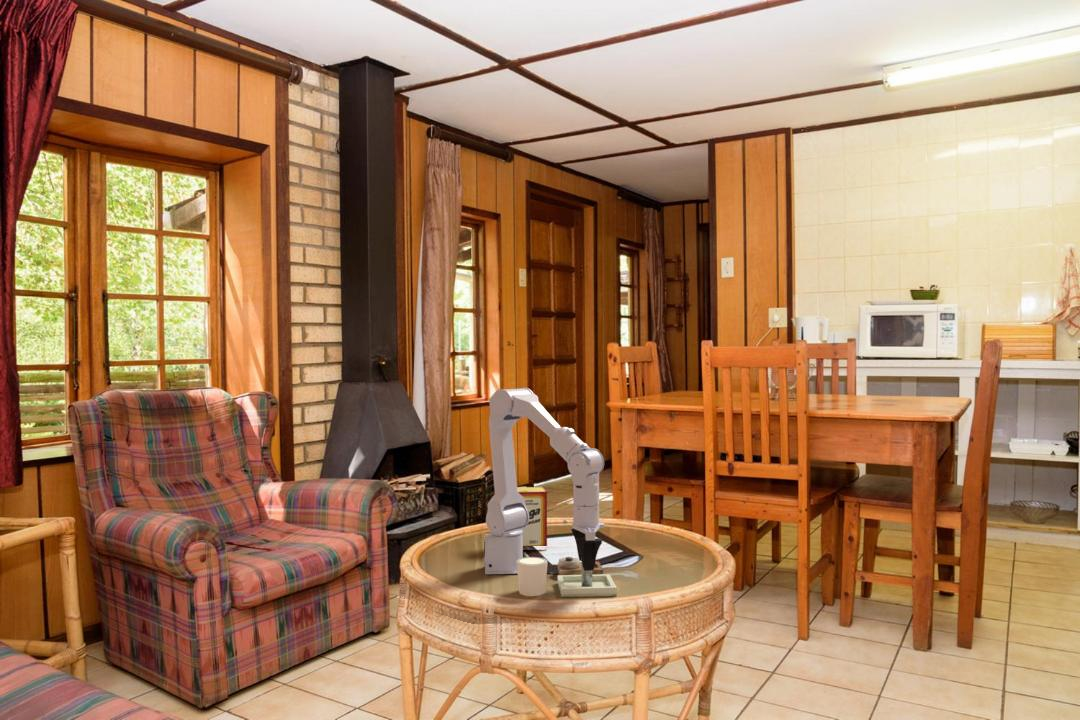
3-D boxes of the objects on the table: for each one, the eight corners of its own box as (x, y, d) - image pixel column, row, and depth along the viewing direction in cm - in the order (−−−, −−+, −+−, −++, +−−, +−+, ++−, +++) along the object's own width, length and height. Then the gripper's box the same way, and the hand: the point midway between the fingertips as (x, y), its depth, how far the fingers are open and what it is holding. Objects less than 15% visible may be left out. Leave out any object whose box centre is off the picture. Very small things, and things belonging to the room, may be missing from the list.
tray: (561, 597, 168) (561, 588, 168) (557, 583, 178) (557, 575, 178) (616, 595, 169) (616, 587, 169) (609, 582, 179) (609, 574, 179)
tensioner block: (560, 579, 181) (560, 562, 181) (557, 570, 188) (557, 554, 188) (603, 578, 182) (603, 561, 182) (598, 569, 189) (598, 553, 189)
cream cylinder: (547, 587, 175) (547, 556, 175) (548, 597, 168) (548, 564, 168) (516, 587, 175) (516, 556, 175) (516, 597, 168) (516, 565, 168)
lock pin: (582, 588, 172) (582, 557, 172) (580, 585, 174) (580, 554, 174) (593, 588, 172) (593, 556, 172) (591, 584, 174) (591, 553, 174)
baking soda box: (543, 543, 214) (543, 485, 214) (546, 550, 207) (546, 490, 207) (509, 545, 213) (509, 486, 212) (511, 551, 206) (511, 491, 206)
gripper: (609, 510, 166) (609, 574, 166) (599, 497, 181) (599, 556, 181) (576, 511, 166) (576, 574, 166) (569, 498, 180) (569, 556, 180)
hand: (586, 565), depth 173 cm, fingers open, 7 cm apart
